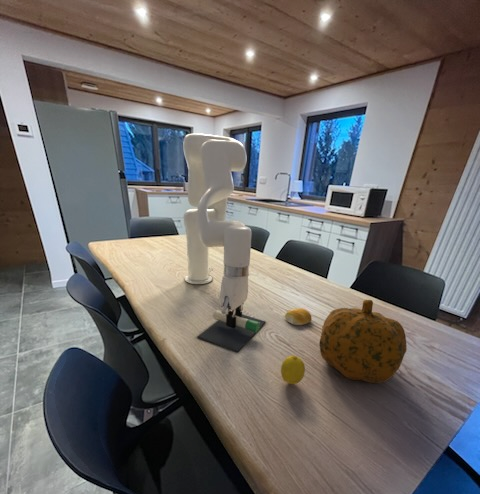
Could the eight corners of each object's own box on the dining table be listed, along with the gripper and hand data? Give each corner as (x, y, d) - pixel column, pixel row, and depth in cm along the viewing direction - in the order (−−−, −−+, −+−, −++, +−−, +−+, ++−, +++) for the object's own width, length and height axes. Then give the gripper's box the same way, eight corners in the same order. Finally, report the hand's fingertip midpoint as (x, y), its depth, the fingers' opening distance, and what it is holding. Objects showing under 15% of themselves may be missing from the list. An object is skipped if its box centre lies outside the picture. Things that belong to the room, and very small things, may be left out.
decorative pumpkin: (357, 405, 58) (379, 322, 51) (300, 356, 76) (311, 290, 69) (417, 385, 66) (443, 311, 59) (352, 345, 84) (366, 285, 77)
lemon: (277, 375, 67) (280, 349, 63) (298, 375, 67) (303, 349, 64) (282, 391, 62) (286, 364, 58) (304, 390, 62) (310, 364, 59)
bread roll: (315, 321, 93) (317, 311, 91) (296, 328, 88) (298, 317, 87) (298, 312, 99) (300, 302, 97) (280, 317, 95) (281, 307, 93)
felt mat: (230, 312, 96) (230, 310, 96) (265, 322, 91) (265, 321, 91) (197, 337, 80) (197, 336, 80) (237, 352, 75) (237, 350, 75)
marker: (212, 320, 86) (212, 312, 85) (218, 316, 89) (218, 308, 87) (255, 334, 80) (256, 325, 79) (259, 329, 83) (260, 320, 81)
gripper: (238, 260, 85) (235, 311, 93) (209, 274, 72) (209, 332, 80) (259, 265, 82) (255, 317, 90) (233, 280, 69) (231, 339, 77)
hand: (233, 323), depth 85 cm, fingers closed on marker, 3 cm apart
